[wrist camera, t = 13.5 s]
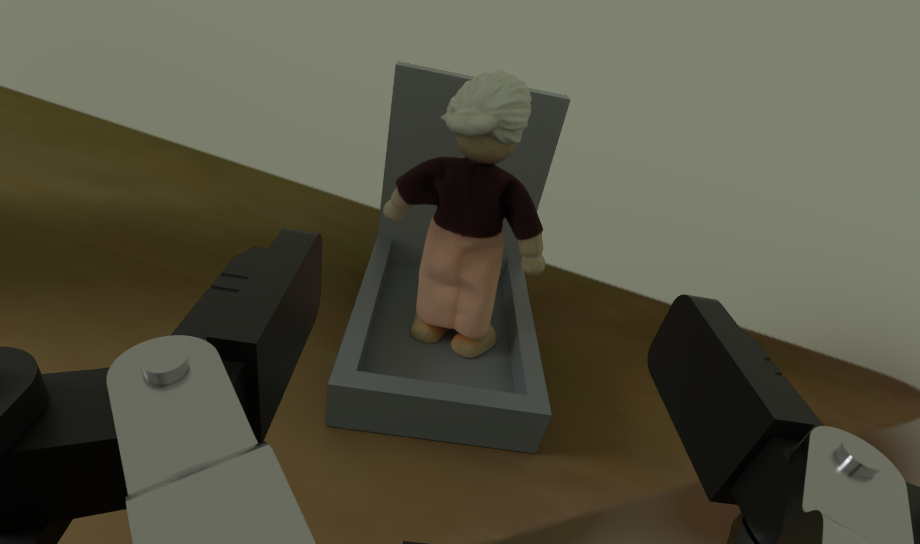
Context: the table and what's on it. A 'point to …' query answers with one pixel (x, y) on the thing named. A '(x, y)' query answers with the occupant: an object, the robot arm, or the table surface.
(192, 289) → the table surface
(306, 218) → the table surface
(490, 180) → the grandmother figurine
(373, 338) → the case
